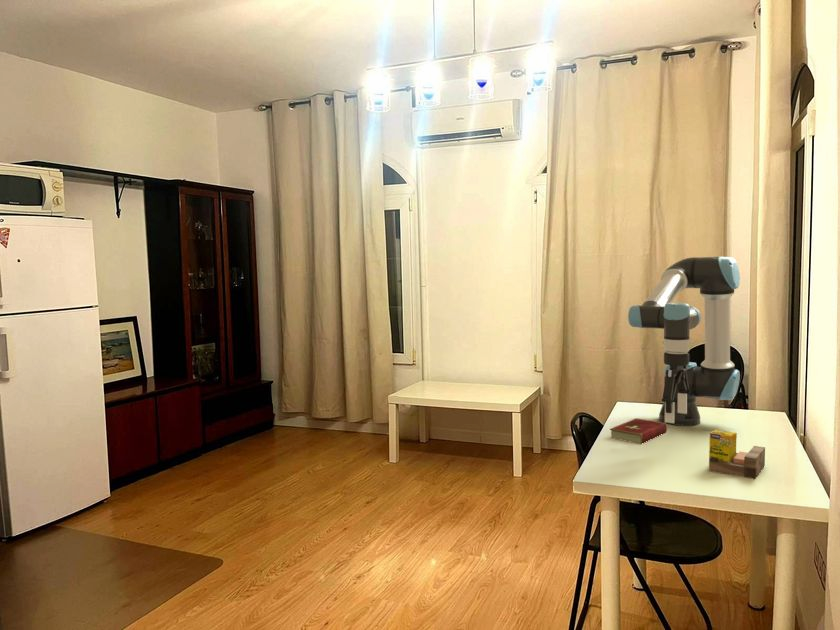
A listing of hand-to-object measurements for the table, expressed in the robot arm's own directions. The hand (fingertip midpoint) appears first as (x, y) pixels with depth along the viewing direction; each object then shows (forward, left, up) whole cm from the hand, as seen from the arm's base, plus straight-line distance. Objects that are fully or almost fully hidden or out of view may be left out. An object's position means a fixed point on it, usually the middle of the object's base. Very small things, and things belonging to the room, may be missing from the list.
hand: (676, 417), depth 204 cm
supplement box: (+2, +14, -13) cm, 20 cm away
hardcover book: (-20, -19, -14) cm, 31 cm away
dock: (+1, +18, -13) cm, 22 cm away
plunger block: (+1, +20, -13) cm, 23 cm away
